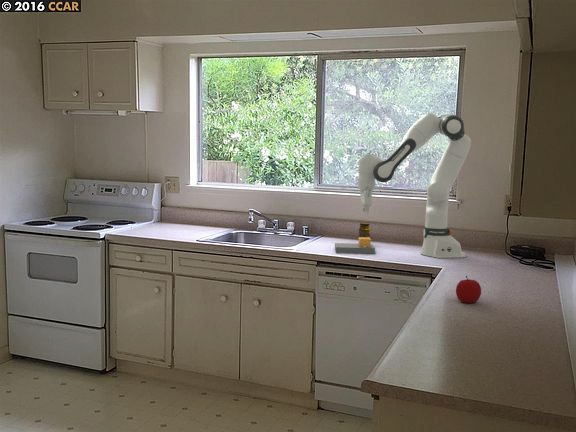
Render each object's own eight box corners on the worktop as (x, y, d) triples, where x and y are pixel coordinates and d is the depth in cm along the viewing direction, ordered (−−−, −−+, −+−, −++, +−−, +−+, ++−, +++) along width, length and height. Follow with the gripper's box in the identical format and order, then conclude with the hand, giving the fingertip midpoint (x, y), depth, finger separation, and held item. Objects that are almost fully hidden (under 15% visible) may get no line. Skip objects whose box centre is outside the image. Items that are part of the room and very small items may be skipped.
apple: (469, 306, 225) (471, 279, 224) (449, 300, 232) (451, 274, 231) (485, 303, 230) (487, 276, 229) (465, 297, 238) (467, 271, 236)
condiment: (372, 245, 342) (373, 223, 340) (362, 246, 336) (363, 225, 335) (362, 243, 347) (363, 222, 346) (352, 244, 341) (353, 223, 340)
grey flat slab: (372, 249, 329) (372, 242, 328) (374, 254, 317) (375, 247, 316) (334, 248, 329) (334, 241, 329) (335, 252, 317) (336, 246, 317)
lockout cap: (369, 244, 325) (369, 237, 325) (370, 246, 320) (370, 239, 319) (358, 244, 325) (358, 237, 325) (359, 246, 320) (359, 239, 319)
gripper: (374, 187, 308) (374, 215, 310) (370, 184, 328) (369, 210, 330) (362, 187, 308) (361, 215, 310) (358, 184, 328) (358, 209, 330)
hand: (365, 212), depth 320 cm, fingers open, 8 cm apart
